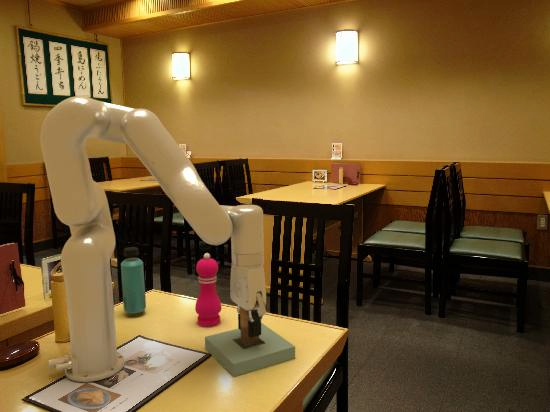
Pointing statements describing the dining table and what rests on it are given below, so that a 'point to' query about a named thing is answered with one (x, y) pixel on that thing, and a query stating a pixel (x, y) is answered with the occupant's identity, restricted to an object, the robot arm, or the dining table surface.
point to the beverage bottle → (133, 282)
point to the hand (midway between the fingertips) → (249, 331)
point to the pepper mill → (207, 293)
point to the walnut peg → (246, 328)
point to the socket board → (249, 350)
